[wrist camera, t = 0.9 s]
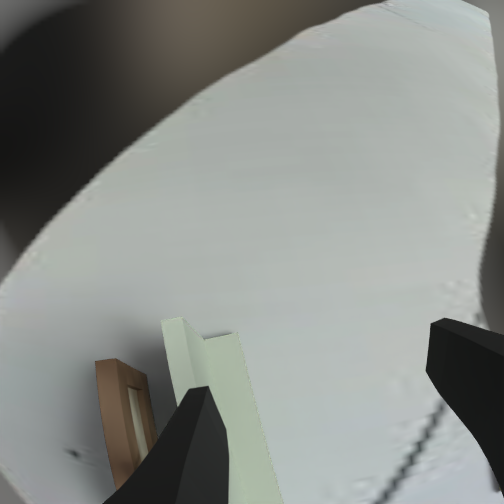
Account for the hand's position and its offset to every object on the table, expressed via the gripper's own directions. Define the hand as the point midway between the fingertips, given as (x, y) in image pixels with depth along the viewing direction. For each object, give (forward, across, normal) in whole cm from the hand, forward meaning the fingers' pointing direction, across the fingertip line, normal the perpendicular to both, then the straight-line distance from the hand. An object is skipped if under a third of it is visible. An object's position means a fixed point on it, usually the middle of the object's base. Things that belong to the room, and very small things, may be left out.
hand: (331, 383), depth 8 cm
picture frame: (+7, +12, +13) cm, 19 cm away
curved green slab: (+10, +7, +14) cm, 18 cm away
